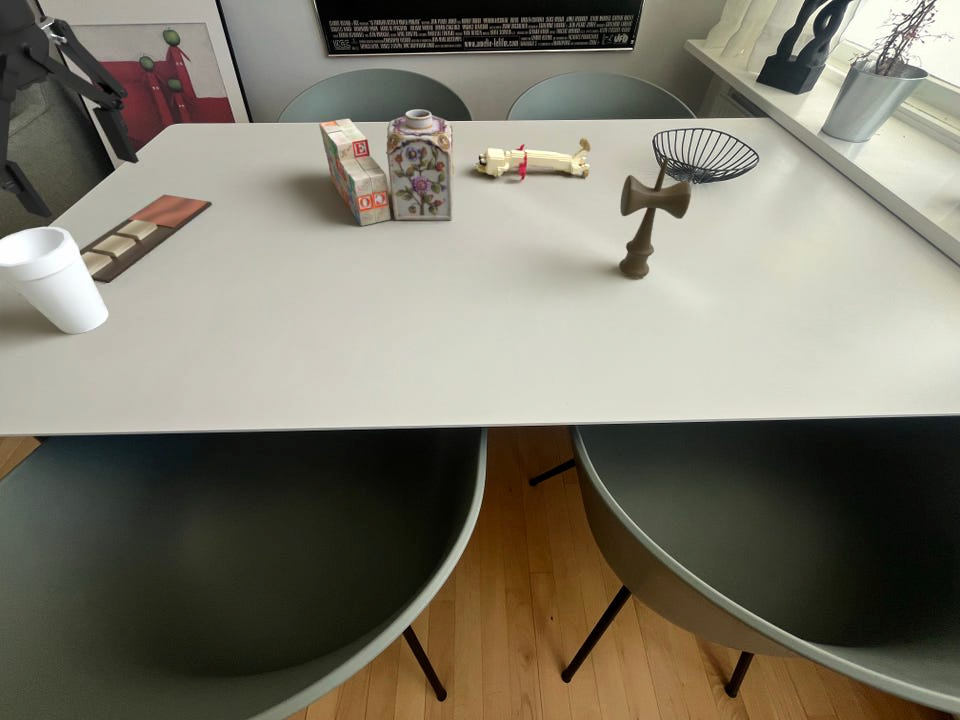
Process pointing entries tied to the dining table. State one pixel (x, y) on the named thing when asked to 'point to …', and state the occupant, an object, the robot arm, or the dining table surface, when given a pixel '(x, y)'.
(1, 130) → the robot arm
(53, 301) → the foam cup
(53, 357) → the dining table surface
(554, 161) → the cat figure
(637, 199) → the kendama
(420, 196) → the decorative jar
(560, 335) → the dining table surface
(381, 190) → the stack of blocks
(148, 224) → the word board
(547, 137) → the dining table surface
